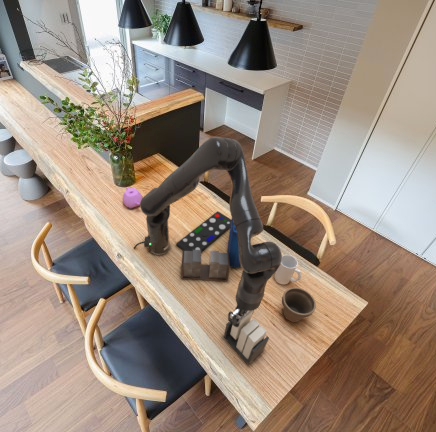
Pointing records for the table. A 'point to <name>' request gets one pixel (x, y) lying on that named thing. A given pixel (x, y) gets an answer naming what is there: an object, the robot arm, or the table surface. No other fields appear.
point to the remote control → (205, 233)
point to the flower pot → (297, 304)
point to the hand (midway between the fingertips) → (242, 318)
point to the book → (233, 247)
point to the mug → (287, 270)
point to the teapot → (132, 197)
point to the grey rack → (205, 266)
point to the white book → (241, 325)
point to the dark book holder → (247, 340)
